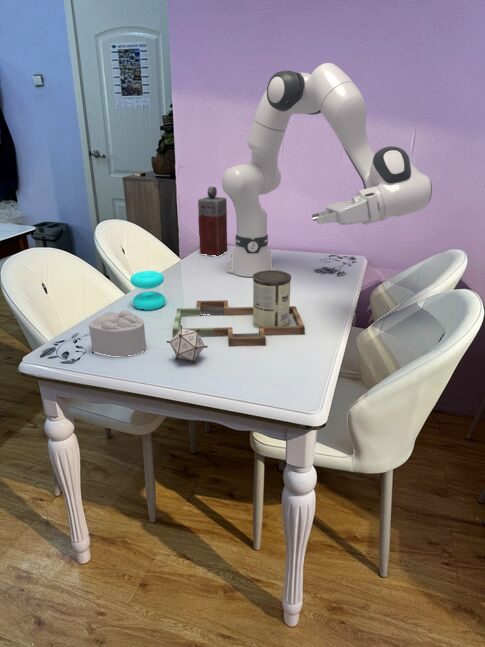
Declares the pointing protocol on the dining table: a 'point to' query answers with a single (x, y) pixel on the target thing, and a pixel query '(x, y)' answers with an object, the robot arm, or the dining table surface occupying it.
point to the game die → (187, 344)
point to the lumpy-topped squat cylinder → (118, 334)
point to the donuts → (147, 282)
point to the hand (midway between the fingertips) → (314, 219)
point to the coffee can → (271, 298)
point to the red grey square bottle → (212, 223)
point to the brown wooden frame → (233, 339)
